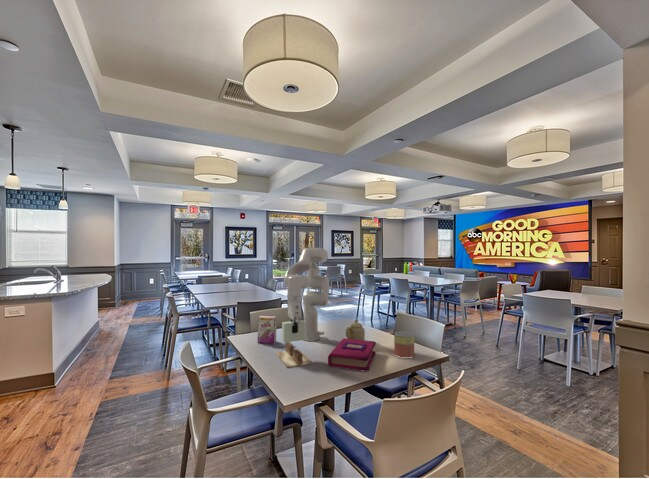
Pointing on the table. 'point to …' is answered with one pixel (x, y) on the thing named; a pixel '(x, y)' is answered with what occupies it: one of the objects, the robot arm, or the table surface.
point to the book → (352, 354)
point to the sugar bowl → (355, 331)
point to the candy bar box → (267, 329)
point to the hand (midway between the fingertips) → (293, 331)
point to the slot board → (293, 357)
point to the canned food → (404, 344)
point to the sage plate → (289, 336)
